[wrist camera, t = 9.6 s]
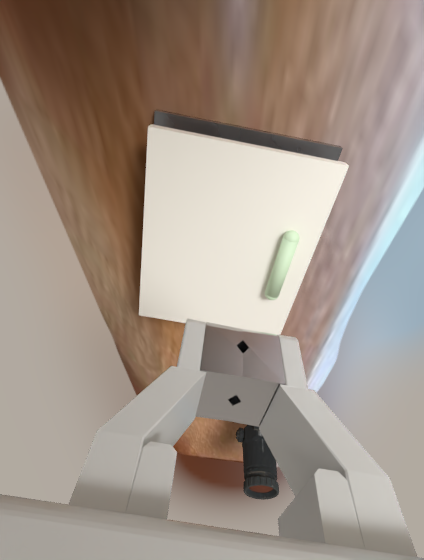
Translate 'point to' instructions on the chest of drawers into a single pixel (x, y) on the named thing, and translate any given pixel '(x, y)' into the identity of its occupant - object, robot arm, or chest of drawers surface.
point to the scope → (257, 464)
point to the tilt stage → (229, 228)
